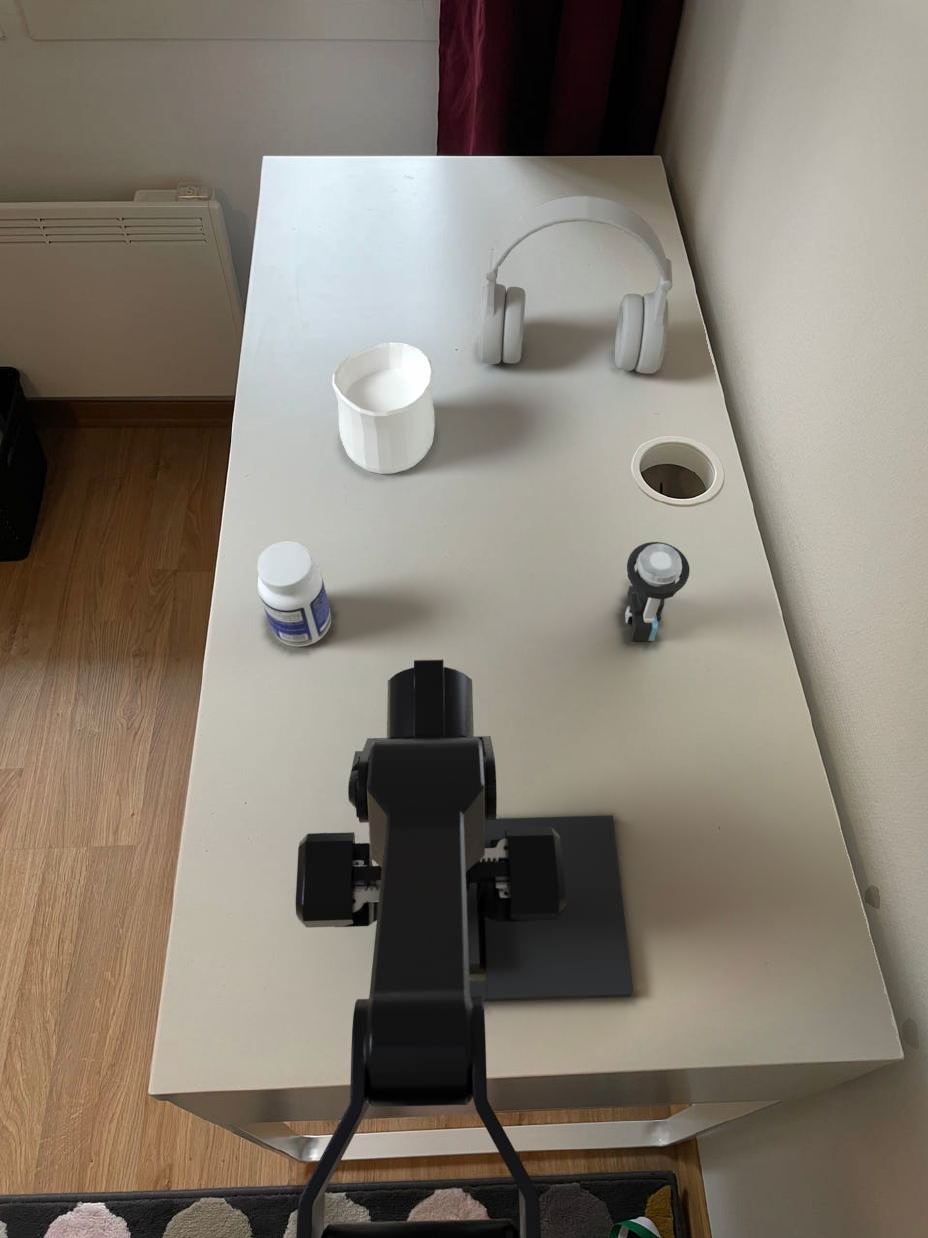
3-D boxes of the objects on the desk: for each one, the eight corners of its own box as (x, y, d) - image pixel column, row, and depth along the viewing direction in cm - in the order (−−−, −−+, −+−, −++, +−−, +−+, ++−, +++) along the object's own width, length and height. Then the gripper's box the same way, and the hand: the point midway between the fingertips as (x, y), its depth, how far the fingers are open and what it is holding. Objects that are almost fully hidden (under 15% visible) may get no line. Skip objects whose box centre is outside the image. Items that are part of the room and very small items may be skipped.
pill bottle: (309, 586, 92) (293, 524, 83) (344, 626, 90) (332, 566, 81) (258, 618, 90) (238, 558, 81) (293, 660, 88) (275, 602, 79)
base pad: (630, 997, 73) (633, 994, 72) (394, 1004, 73) (393, 1002, 71) (610, 820, 80) (612, 815, 79) (395, 826, 80) (395, 821, 79)
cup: (326, 460, 100) (314, 393, 92) (371, 396, 105) (363, 327, 96) (407, 490, 98) (403, 425, 90) (449, 424, 103) (449, 356, 94)
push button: (608, 585, 92) (624, 523, 84) (663, 584, 92) (685, 522, 84) (615, 645, 89) (633, 587, 80) (673, 644, 89) (696, 586, 80)
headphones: (655, 336, 110) (690, 184, 93) (657, 390, 105) (694, 240, 89) (481, 326, 110) (485, 173, 94) (476, 379, 106) (479, 228, 89)
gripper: (562, 726, 66) (541, 805, 80) (292, 732, 65) (316, 811, 79) (578, 887, 61) (552, 943, 74) (282, 896, 60) (310, 951, 73)
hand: (431, 906), depth 75 cm, fingers open, 7 cm apart
